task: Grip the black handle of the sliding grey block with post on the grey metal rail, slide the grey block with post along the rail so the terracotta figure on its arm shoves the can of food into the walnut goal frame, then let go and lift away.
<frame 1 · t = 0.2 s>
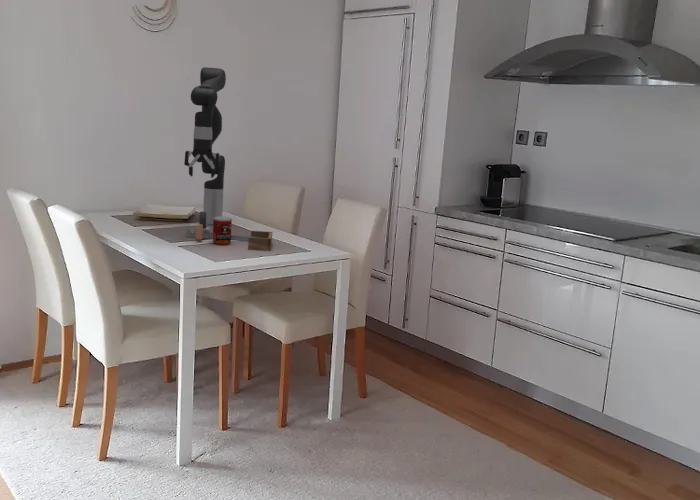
hand: (201, 176, 278), 28 cm above the table, tool pointing down, fingers open, 8 cm apart
grey block with post: (201, 226, 287), point 6 cm above the table, slide at 0.0 cm
goal: (260, 246, 284), on the table
rail: (221, 238, 293), on the table
canned food: (221, 243, 284), on the table
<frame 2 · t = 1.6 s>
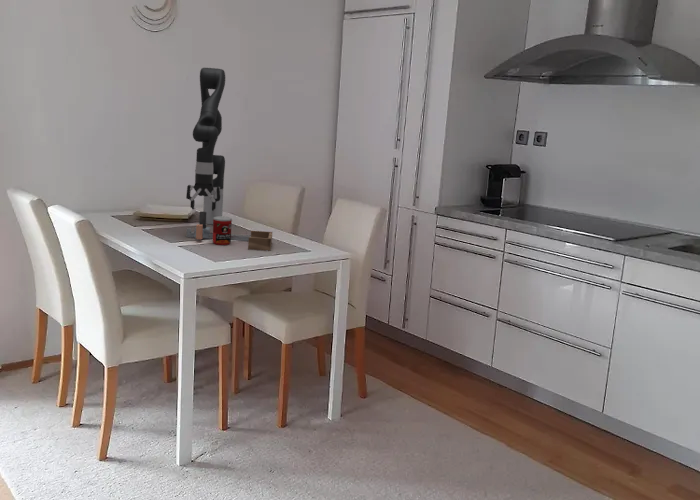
hand: (203, 209, 289), 12 cm above the table, tool pointing down, fingers open, 8 cm apart
nothing on the table moved.
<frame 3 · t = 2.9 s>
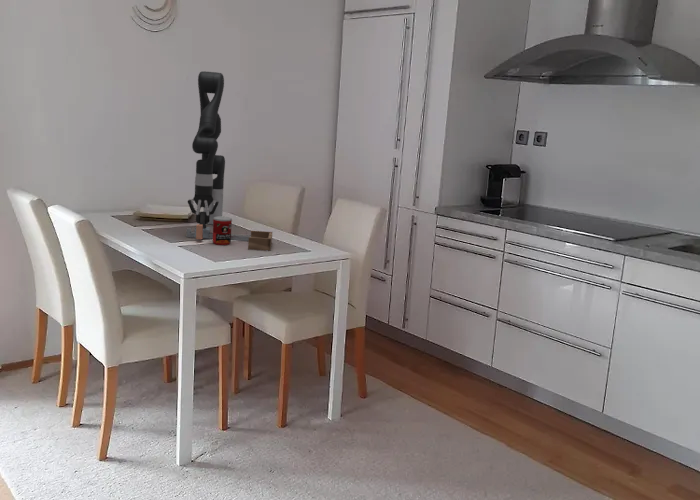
hand: (202, 223, 291), 6 cm above the table, tool pointing down, fingers closed on grey block with post, 3 cm apart
grey block with post: (201, 226, 287), point 6 cm above the table, slide at 0.0 cm, touching gripper
everything else where it was.
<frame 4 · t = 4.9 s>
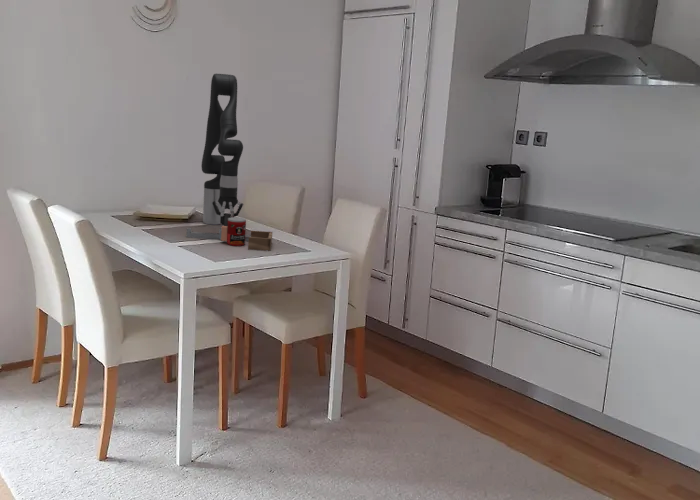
hand: (226, 224, 291), 6 cm above the table, tool pointing down, fingers closed on grey block with post, 3 cm apart
grey block with post: (225, 227, 288), point 6 cm above the table, slide at 10.6 cm, touching canned food, gripper
canned food: (235, 244, 284), on the table, touching grey block with post
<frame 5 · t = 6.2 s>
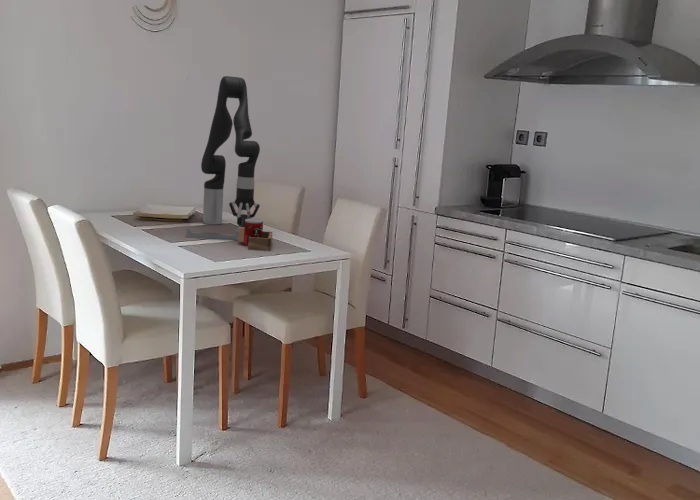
hand: (243, 225, 292), 6 cm above the table, tool pointing down, fingers closed on grey block with post, 3 cm apart
grey block with post: (242, 228, 289), point 6 cm above the table, slide at 17.8 cm, touching canned food, gripper
canned food: (252, 245, 285), on the table, touching grey block with post
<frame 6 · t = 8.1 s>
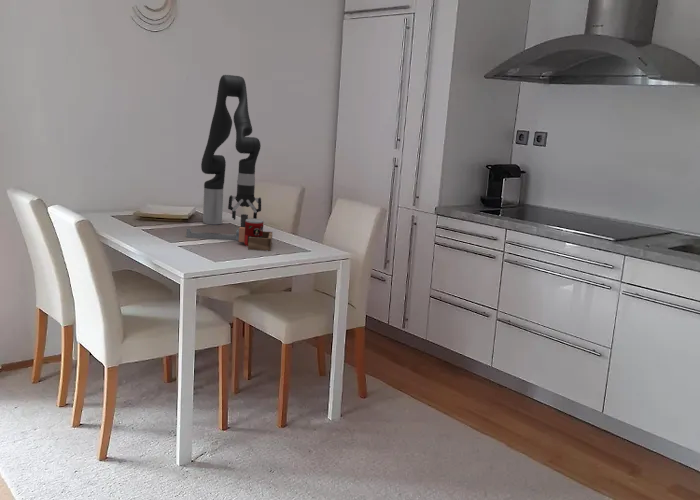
hand: (244, 220, 292), 9 cm above the table, tool pointing down, fingers open, 8 cm apart
grey block with post: (243, 228, 289), point 6 cm above the table, slide at 17.9 cm
canned food: (253, 245, 285), on the table
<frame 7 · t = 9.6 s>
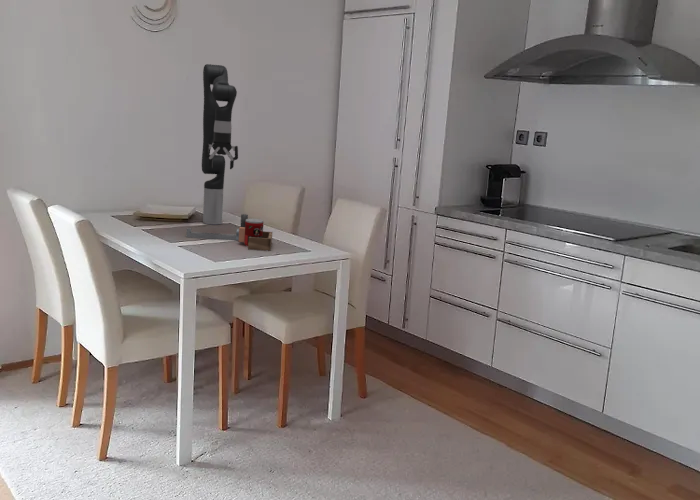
hand: (221, 168, 295), 30 cm above the table, tool pointing down, fingers open, 8 cm apart
nothing on the table moved.
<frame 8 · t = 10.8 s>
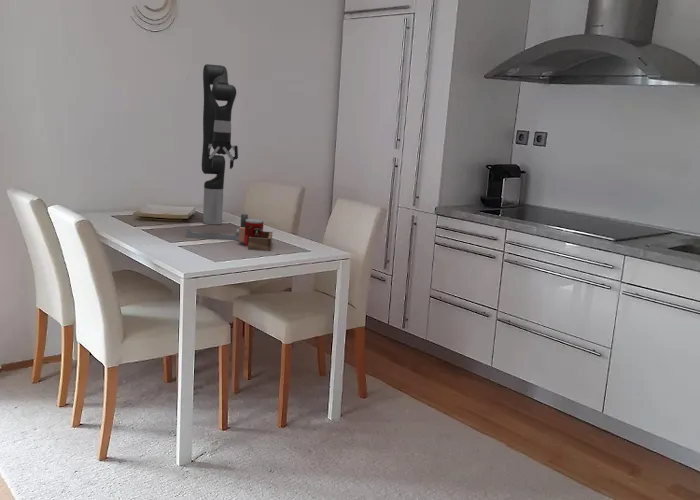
hand: (221, 168, 295), 30 cm above the table, tool pointing down, fingers open, 8 cm apart
nothing on the table moved.
at the end: canned food inside the target area (2.2 cm from its centre), on the table; grey block with post slide at 17.9 cm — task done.
